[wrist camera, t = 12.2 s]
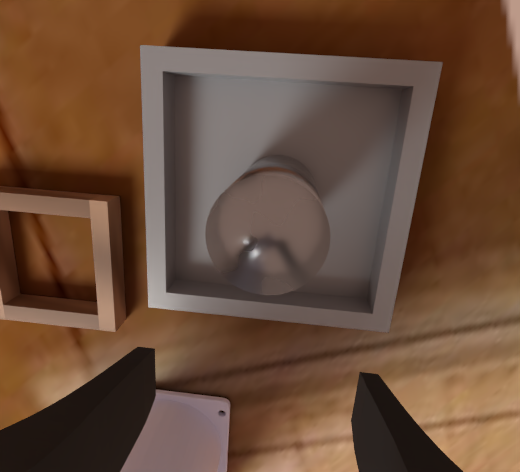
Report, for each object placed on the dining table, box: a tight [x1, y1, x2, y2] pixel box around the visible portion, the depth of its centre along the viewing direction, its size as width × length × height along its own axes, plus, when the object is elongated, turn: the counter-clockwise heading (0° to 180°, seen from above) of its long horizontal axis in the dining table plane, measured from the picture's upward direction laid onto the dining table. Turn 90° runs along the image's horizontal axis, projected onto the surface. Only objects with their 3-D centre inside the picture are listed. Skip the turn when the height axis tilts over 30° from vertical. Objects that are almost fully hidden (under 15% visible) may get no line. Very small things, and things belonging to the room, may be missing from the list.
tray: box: [140, 45, 443, 333], centre depth 19 cm, size 13×13×2 cm
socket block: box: [0, 186, 126, 332], centre depth 22 cm, size 8×8×2 cm
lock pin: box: [205, 155, 330, 295], centre depth 16 cm, size 4×4×8 cm
